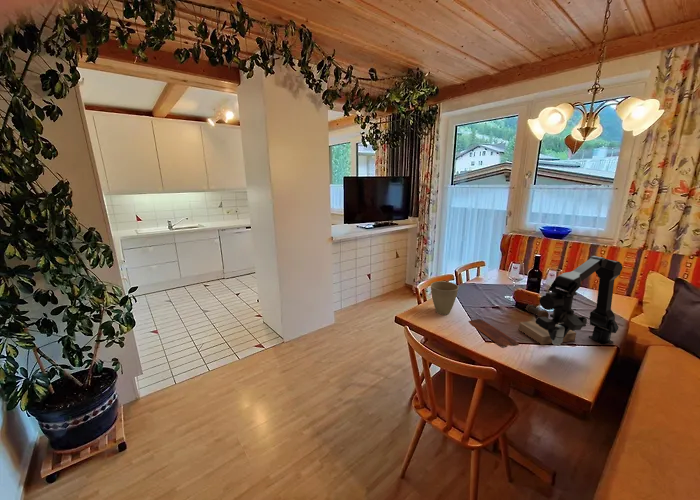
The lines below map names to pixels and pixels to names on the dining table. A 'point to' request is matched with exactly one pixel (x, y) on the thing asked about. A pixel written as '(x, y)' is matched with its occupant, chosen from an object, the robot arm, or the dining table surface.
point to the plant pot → (443, 296)
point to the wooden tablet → (493, 333)
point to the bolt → (537, 311)
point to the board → (542, 333)
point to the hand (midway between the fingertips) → (556, 339)
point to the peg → (559, 336)
